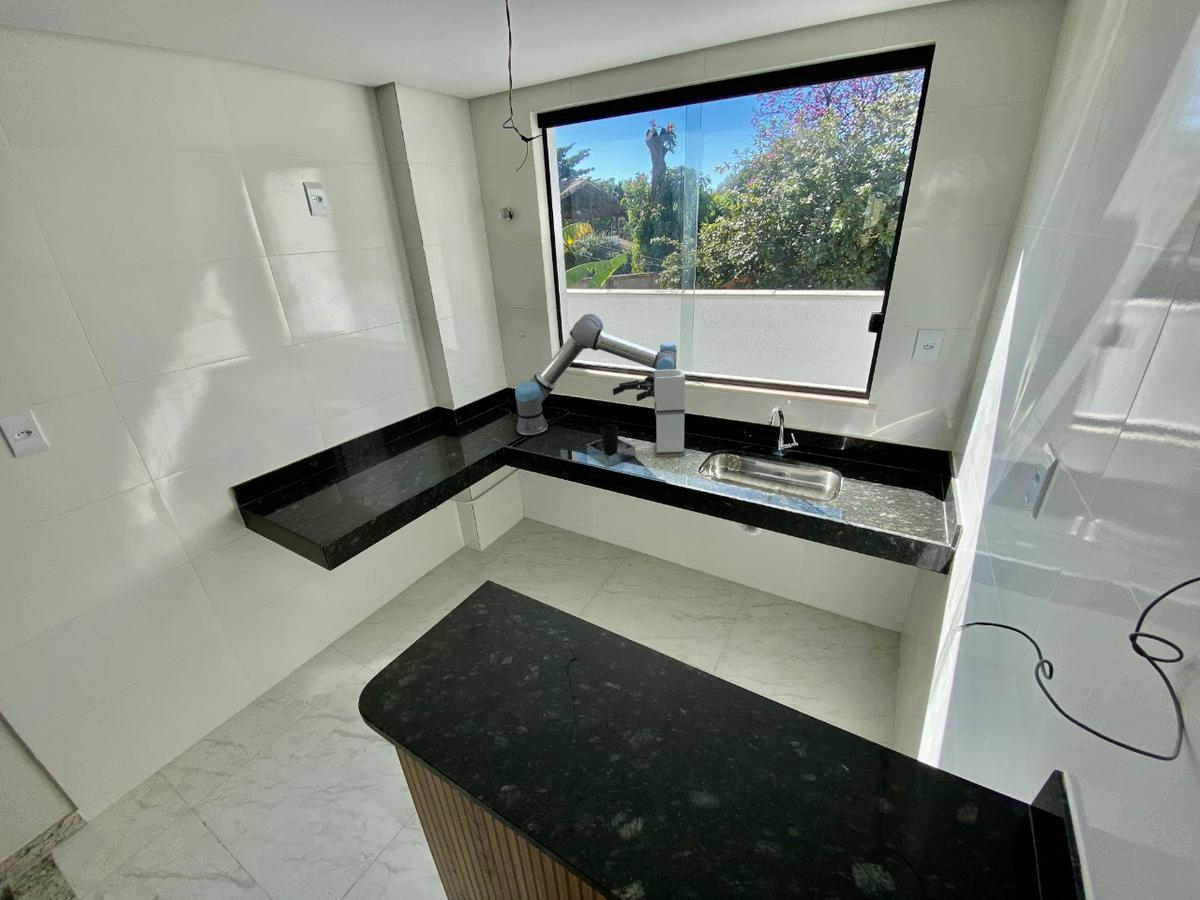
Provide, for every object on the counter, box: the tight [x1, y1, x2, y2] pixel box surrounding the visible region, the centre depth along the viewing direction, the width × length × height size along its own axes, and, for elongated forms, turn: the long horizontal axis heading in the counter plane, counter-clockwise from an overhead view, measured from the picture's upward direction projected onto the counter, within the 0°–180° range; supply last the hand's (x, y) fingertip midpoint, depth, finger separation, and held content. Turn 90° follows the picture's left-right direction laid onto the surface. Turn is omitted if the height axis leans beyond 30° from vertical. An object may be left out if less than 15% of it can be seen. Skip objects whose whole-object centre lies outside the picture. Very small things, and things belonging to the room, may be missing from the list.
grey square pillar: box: [653, 368, 686, 458], centre depth 204 cm, size 11×11×35 cm
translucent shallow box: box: [586, 438, 636, 467], centre depth 210 cm, size 16×14×4 cm
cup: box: [599, 423, 619, 456], centre depth 208 cm, size 8×8×12 cm
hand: (625, 394), depth 210 cm, fingers open, 13 cm apart
